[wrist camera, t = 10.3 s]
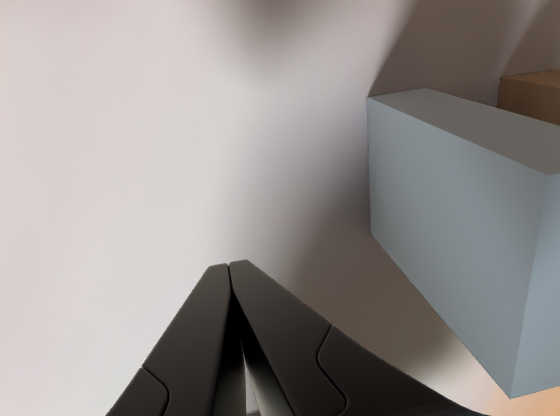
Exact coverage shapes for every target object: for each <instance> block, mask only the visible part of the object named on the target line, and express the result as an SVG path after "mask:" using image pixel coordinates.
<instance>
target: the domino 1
mask: <svg viewBox="0 0 560 416" xmlns="http://www.w3.org/2000/svg"><path fill="white" fill-rule="evenodd" d="M367 118H368V155H369V193H370V231H371V235H372V236H373V238H374V239H375V240H376V241H377V242H378V243H379V245H380V246H381V247H382V248H383V249H384V251H385V252H386V253H387V254H388V255H389V257H390V258H391V259H392V260H393V261H394V262H395V264H396V265H397V266H398V267H399V268H400V270H401V271H402V272H403V273H404V274H405V275H406V277H407V278H408V279H409V280H410V281H411V283H412V284H413V285H414V286H415V287H416V288H417V290H418V291H419V292H420V293H421V294H422V296H423V297H424V298H425V299H426V300H427V302H428V303H429V304H430V305H431V306H432V307H433V309H434V310H435V311H436V312H437V313H438V315H439V316H440V317H441V318H442V319H443V320H444V322H445V323H446V324H447V325H448V326H449V328H450V329H451V330H452V331H453V332H454V334H455V335H456V336H457V337H458V338H459V339H460V341H461V342H462V343H463V344H464V345H465V347H466V348H467V349H468V350H469V351H470V352H471V354H472V355H473V356H474V357H475V358H476V360H477V361H478V362H479V363H480V364H481V365H482V367H483V368H484V369H485V370H486V371H487V373H488V374H489V375H490V376H491V377H492V379H493V380H494V381H495V382H496V383H497V384H498V386H499V387H500V388H501V389H502V390H503V392H504V393H505V394H506V395H507V396H508V397H509V399H513V398H516V397H520V396H524V395H528V394H531V393H535V392H539V391H542V390H546V389H550V388H554V387H557V386H560V126H558V125H555V124H551V123H548V122H544V121H541V120H537V119H534V118H530V117H527V116H523V115H520V114H516V113H513V112H509V111H506V110H502V109H499V108H495V107H492V106H488V105H485V104H481V103H478V102H474V101H471V100H467V99H464V98H460V97H457V96H453V95H450V94H446V93H443V92H439V91H436V90H432V89H429V88H420V89H414V90H407V91H401V92H395V93H389V94H382V95H376V96H370V97H367Z"/></svg>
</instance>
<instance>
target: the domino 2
mask: <svg viewBox="0 0 560 416" xmlns="http://www.w3.org/2000/svg"><path fill="white" fill-rule="evenodd" d="M497 108H499V109H502V110H506V111H509V112H513V113H516V114H520V115H523V116H527V117H530V118H534V119H537V120H541V121H544V122H548V123H551V124H555V125H558V126H560V71H559V70H549V71H542V72H535V73H527V74H520V75H513V76H505V77H501V78H500V86H499V94H498V102H497Z"/></svg>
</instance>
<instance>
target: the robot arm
mask: <svg viewBox="0 0 560 416" xmlns="http://www.w3.org/2000/svg"><path fill="white" fill-rule="evenodd" d="M242 348H243V349H242ZM243 354H244V356H243ZM244 359H245V364H246V368H247V371H248V375H249V378H250V381H251V385H252V388H253V391H254V394H255V398H256V401H257V404H258V407H259V410H260V414H261V416H489V415H485V414H481V413H478V412H475V411H472V410H470V409H467V408H465V407H463V406H461V405H459V404H457V403H455V402H453V401H451V400H449V399H448V398H446V397H444V396H443V395H441V394H439V393H438V392H436V391H434V390H433V389H431V388H429V387H427V386H426V385H424V384H422V383H421V382H419V381H417V380H416V379H414V378H412V377H410V376H409V375H407V374H405V373H404V372H402V371H400V370H399V369H397V368H395V367H394V366H392V365H390V364H388V363H387V362H385V361H384V360H382V359H380V358H379V357H377V356H376V355H374V354H373V353H371V352H369V351H368V350H366V349H365V348H363V347H362V346H360V345H359V344H358V343H356V342H355V341H353V340H352V339H351V338H349V337H348V336H346V335H345V334H344V333H343V332H341V331H340V330H339V329H337V328H336V327H334V326H332V324H331V323H329V322H328V321H327V320H325V319H324V318H323V317H321V316H320V315H319V314H317V313H316V312H315V311H314V310H312V309H311V308H310V307H308V306H307V305H306V304H304V303H303V302H302V301H301V300H299V299H298V298H297V297H295V296H294V295H293V294H291V293H290V292H289V291H287V290H286V289H285V288H284V287H282V286H281V285H280V284H278V283H277V282H276V281H274V280H273V279H272V278H271V277H269V276H268V275H267V274H265V273H264V272H263V271H261V270H260V269H259V268H258V267H256V266H255V265H254V264H252V263H251V262H250V261H248V260H240V261H234V262H231V263H229V267H228V265H227V264H226V263H224V264H218V265H213V266H209V267H208V268H207V270H206V271H205V273H204V274H203V276H202V277H201V279H200V280H199V282H198V283H197V285H196V286H195V288H194V289H193V290H192V292H191V293H190V295H189V296H188V298H187V299H186V301H185V302H184V304H183V305H182V307H181V308H180V310H179V311H178V313H177V314H176V316H175V317H174V319H173V320H172V322H171V323H170V324H169V326H168V327H167V329H166V330H165V332H164V333H163V335H162V336H161V338H160V339H159V341H158V342H157V344H156V345H155V347H154V348H153V350H152V351H151V353H150V354H149V356H148V357H147V358H146V360H145V361H144V363H143V364H142V368H140V369H139V370H138V371H137V373H136V374H135V376H134V377H133V379H132V380H131V382H130V383H129V385H128V386H127V387H126V389H125V390H124V392H123V393H122V394H121V396H120V397H119V399H118V400H117V401H116V403H115V404H114V405H113V407H112V408H111V409H110V410H109V412H108V413H107V414H106V415H105V416H246V384H245V364H244Z"/></svg>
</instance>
